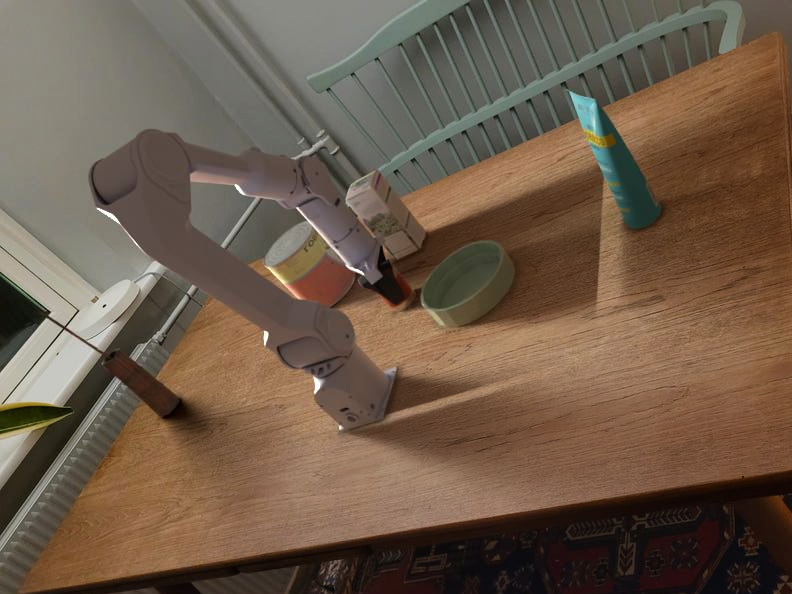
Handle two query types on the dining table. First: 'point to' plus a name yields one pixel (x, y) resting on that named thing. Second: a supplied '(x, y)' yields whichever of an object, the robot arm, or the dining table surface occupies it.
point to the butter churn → (134, 378)
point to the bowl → (468, 283)
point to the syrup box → (385, 214)
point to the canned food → (309, 266)
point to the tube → (617, 165)
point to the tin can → (406, 289)
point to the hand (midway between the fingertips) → (397, 293)
